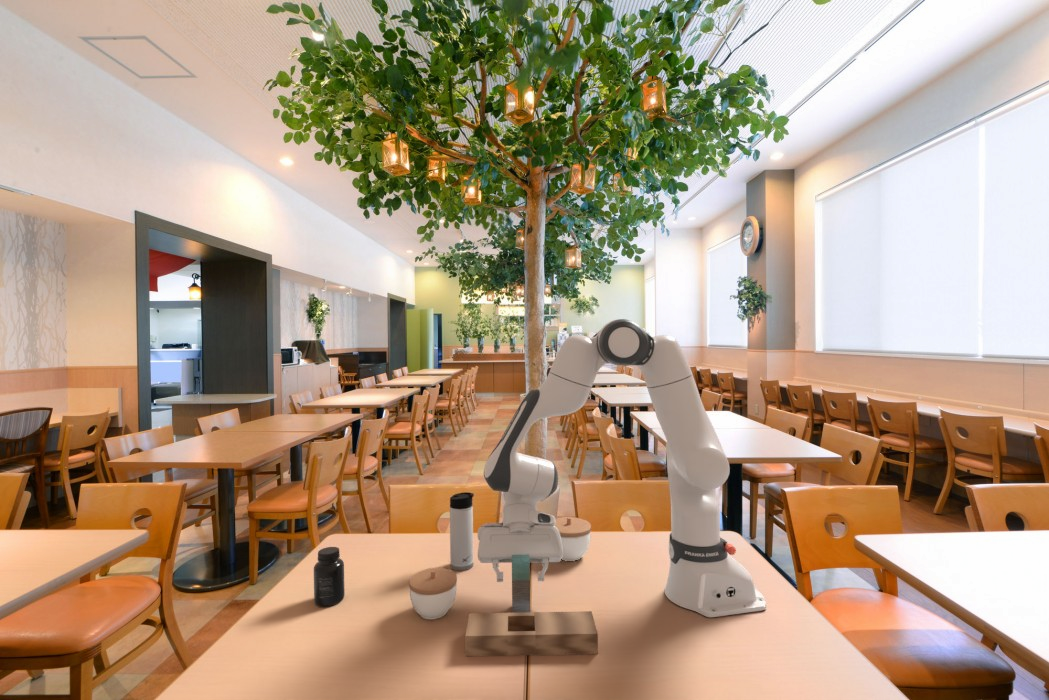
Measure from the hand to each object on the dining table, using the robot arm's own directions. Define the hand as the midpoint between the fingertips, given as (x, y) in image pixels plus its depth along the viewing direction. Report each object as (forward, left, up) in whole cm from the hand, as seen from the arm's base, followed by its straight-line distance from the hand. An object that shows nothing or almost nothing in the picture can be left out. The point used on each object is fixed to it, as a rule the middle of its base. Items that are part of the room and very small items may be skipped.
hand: (520, 580), depth 111 cm
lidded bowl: (-14, -28, -7) cm, 32 cm away
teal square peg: (0, 0, -7) cm, 7 cm away
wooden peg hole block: (-2, +12, -7) cm, 14 cm away
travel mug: (+16, -23, -7) cm, 29 cm away
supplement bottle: (+46, -6, -7) cm, 47 cm away
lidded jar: (+20, 0, -7) cm, 21 cm away
